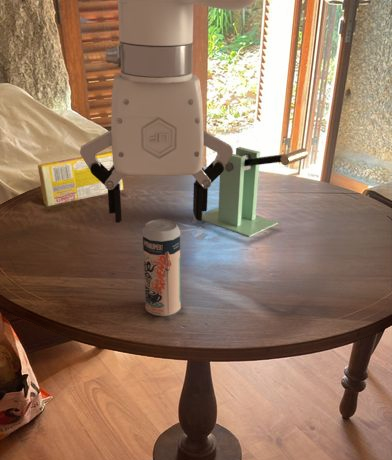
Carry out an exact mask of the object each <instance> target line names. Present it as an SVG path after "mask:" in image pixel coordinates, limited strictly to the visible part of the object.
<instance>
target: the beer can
mask: <svg viewBox="0 0 392 460" xmlns="http://www.w3.org/2000/svg"><path fill="white" fill-rule="evenodd" d="M181 234H182V233H181V230H180V228H179V226H178V225H177V222H176V221H175V222H174V221H173V220H171V219H162V218H161V219H160V218H159V219H152V220H150V221H148V222H146V223H145V225H144V227H143V229H142V231H141V236H142V249H143V251H142V252H143V271H144V273H143V274H144V292H145V307H144V308H145V310H146V311H147V312H148V313H150V314H151V315H154V316H157V317H170V316H172V315H174V314H177V313H179V311H180V310H181V308H182V304H181Z"/></svg>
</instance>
